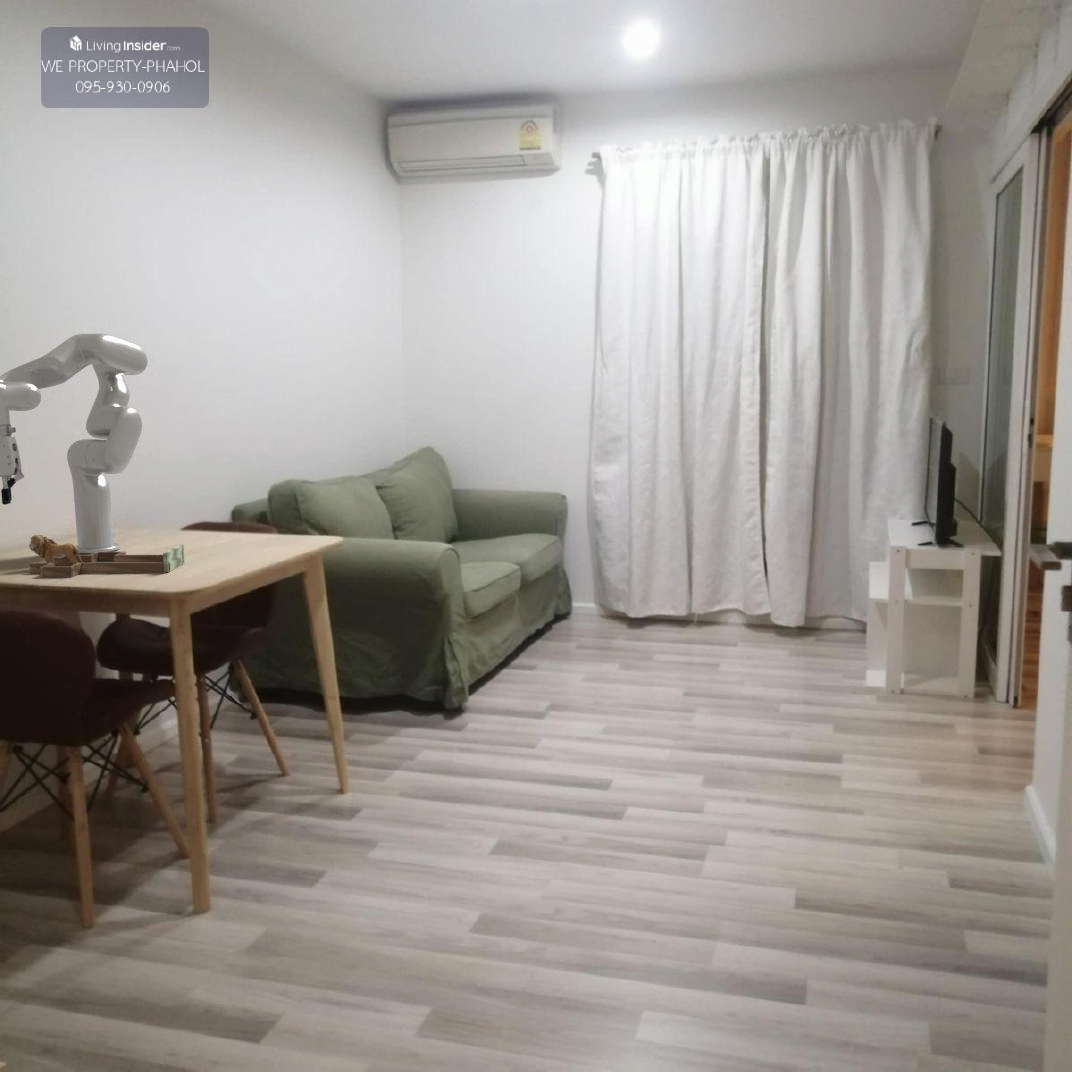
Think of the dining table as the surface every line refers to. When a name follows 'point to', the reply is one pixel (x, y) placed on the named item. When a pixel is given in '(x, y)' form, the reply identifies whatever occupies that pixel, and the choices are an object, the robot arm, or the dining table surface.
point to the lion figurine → (53, 549)
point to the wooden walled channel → (111, 563)
